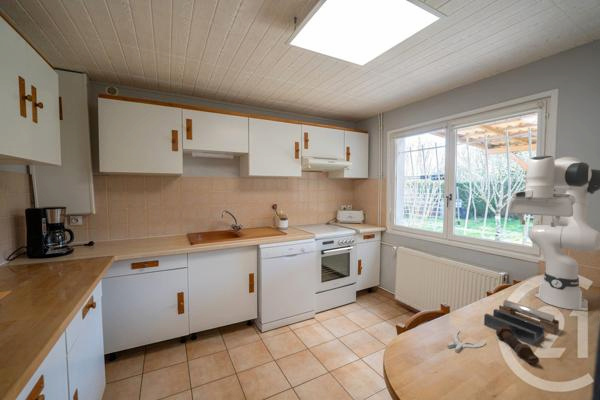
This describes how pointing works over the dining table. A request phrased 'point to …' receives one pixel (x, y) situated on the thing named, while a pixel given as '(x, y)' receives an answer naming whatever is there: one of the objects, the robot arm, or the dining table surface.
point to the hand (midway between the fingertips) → (537, 225)
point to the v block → (516, 326)
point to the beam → (549, 327)
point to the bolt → (517, 344)
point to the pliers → (459, 345)
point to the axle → (529, 311)
